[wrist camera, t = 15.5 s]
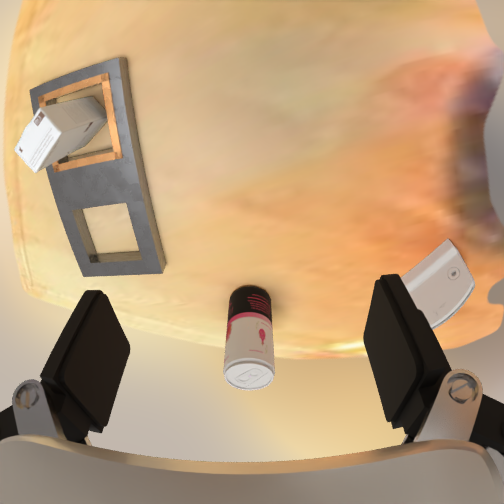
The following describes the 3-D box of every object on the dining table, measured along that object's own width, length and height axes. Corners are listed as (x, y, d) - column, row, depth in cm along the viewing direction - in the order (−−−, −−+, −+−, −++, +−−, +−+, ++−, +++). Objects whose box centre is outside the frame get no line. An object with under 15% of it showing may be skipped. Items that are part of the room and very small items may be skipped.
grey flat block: (39, 87, 31) (28, 90, 28) (126, 57, 30) (117, 57, 28) (89, 267, 47) (83, 277, 45) (166, 263, 46) (162, 274, 44)
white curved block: (449, 236, 43) (484, 282, 37) (454, 247, 46) (485, 290, 40) (374, 298, 50) (400, 347, 43) (383, 304, 53) (408, 350, 46)
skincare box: (86, 146, 36) (35, 178, 26) (66, 125, 34) (11, 151, 24) (113, 114, 34) (63, 135, 24) (92, 92, 32) (37, 107, 22)
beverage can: (221, 299, 50) (212, 376, 37) (251, 277, 48) (250, 355, 35) (249, 320, 53) (247, 395, 40) (278, 301, 50) (285, 378, 37)
